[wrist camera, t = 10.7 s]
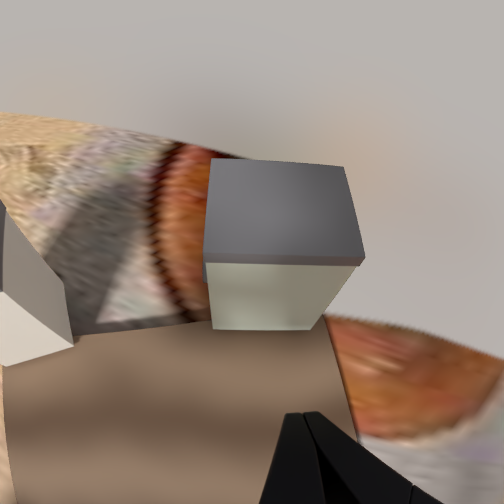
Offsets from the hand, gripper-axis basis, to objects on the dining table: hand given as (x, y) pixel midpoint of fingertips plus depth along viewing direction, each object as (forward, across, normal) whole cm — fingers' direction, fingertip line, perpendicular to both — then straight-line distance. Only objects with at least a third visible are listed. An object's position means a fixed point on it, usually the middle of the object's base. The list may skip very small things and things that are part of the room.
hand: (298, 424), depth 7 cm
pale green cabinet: (+10, 0, 0) cm, 10 cm away
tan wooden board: (+6, +5, +6) cm, 10 cm away
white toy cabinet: (+8, +13, +2) cm, 16 cm away
